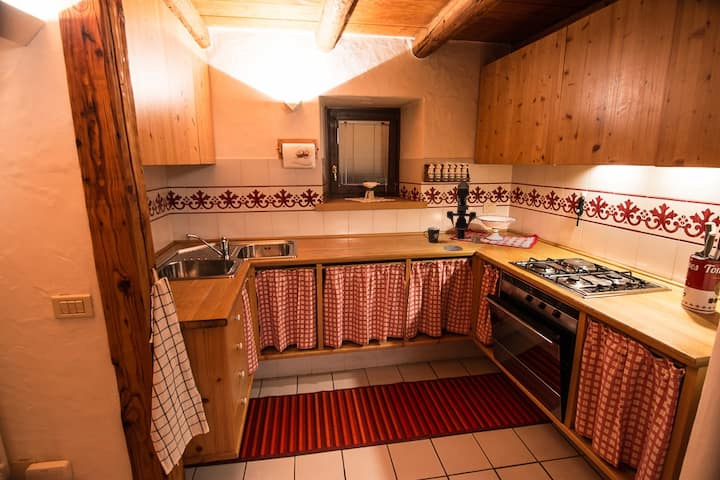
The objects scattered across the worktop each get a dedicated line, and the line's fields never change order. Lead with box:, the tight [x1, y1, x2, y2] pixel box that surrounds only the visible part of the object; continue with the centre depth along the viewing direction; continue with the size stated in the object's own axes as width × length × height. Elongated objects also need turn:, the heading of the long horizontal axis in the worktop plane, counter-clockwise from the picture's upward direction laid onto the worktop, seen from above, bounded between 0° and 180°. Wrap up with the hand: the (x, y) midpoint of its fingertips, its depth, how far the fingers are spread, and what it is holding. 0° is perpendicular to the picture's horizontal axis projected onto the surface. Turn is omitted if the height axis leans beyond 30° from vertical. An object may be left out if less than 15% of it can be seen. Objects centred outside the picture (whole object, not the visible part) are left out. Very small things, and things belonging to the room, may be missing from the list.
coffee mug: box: [423, 226, 441, 244], centre depth 255 cm, size 12×9×10 cm
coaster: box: [443, 244, 463, 252], centre depth 238 cm, size 12×12×1 cm
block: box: [470, 234, 482, 245], centre depth 252 cm, size 6×4×5 cm, turn 12°
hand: (460, 226), depth 234 cm, fingers open, 9 cm apart
